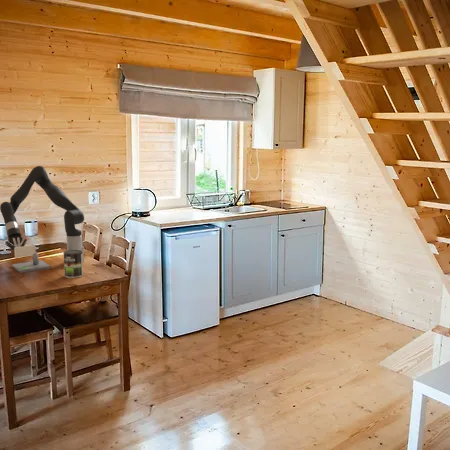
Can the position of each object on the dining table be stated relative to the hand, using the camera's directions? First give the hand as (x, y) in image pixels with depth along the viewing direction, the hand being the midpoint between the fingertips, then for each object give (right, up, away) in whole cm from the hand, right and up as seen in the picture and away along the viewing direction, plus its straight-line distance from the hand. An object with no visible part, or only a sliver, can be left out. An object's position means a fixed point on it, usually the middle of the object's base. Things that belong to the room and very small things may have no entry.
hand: (19, 253), depth 307 cm
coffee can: (+37, -12, -14) cm, 41 cm away
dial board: (+6, -9, +4) cm, 11 cm away
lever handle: (+4, -7, +3) cm, 8 cm away
